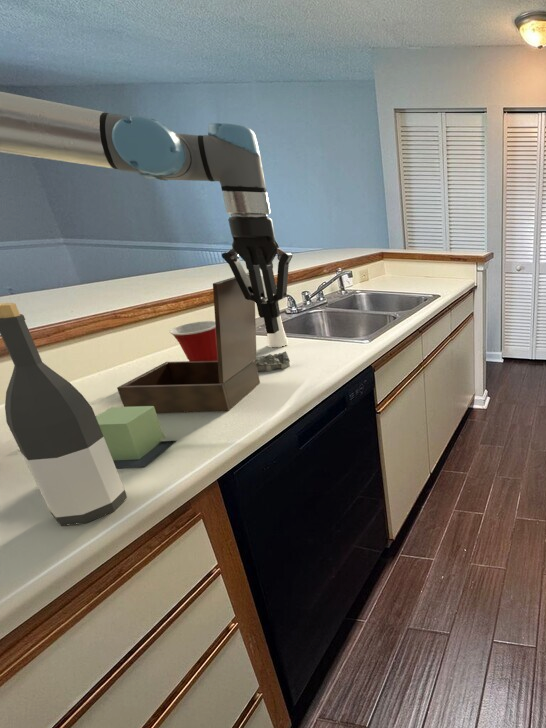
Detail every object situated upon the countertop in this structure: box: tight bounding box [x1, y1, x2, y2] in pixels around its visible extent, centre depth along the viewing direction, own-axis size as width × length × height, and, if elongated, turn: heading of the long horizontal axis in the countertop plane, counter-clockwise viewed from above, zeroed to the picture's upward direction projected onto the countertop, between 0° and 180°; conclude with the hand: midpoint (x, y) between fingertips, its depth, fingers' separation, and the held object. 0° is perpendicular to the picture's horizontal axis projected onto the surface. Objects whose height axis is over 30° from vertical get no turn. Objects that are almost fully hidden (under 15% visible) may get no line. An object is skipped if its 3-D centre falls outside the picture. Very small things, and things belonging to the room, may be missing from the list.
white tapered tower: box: [261, 274, 290, 348], centre depth 131 cm, size 6×6×22 cm
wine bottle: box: [0, 302, 128, 527], centre depth 56 cm, size 8×8×30 cm
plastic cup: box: [169, 320, 218, 361], centre depth 113 cm, size 11×11×12 cm
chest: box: [116, 360, 261, 414], centre depth 95 cm, size 20×16×7 cm
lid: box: [212, 272, 258, 383], centre depth 91 cm, size 21×16×1 cm
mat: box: [113, 440, 177, 470], centre depth 76 cm, size 11×11×1 cm
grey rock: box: [255, 351, 291, 373], centre depth 114 cm, size 11×8×4 cm
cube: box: [95, 406, 165, 460], centre depth 74 cm, size 7×7×7 cm
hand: (273, 331), depth 92 cm, fingers closed
